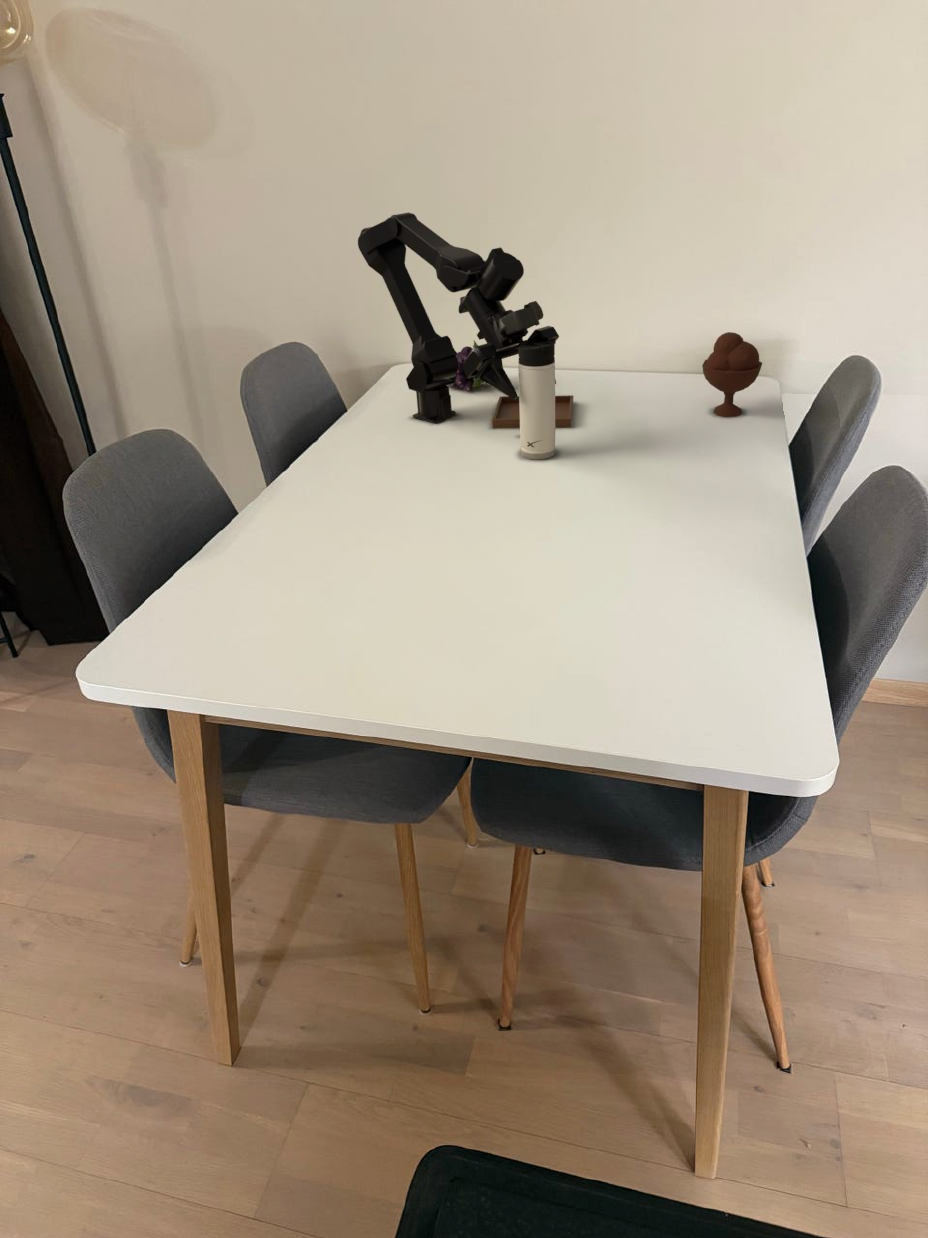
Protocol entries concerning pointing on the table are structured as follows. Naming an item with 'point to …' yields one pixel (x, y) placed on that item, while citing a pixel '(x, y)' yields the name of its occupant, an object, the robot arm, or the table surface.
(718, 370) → the ice cream bowl
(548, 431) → the travel mug
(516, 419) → the serving tray
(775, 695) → the table surface
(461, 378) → the fruit
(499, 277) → the robot arm
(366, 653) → the table surface
